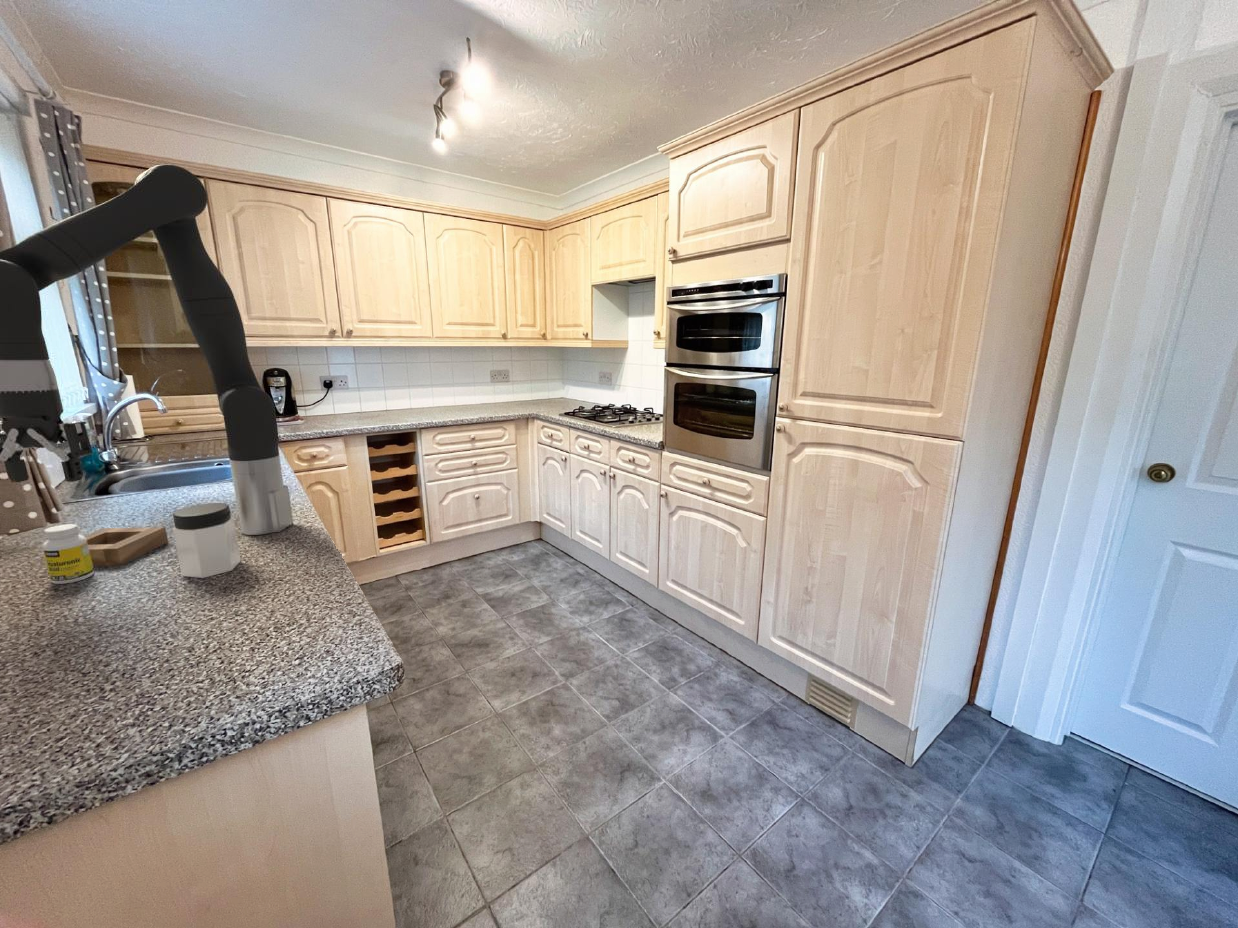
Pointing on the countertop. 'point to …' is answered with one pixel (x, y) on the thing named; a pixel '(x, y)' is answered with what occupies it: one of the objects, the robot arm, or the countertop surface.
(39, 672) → the countertop surface
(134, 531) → the socket block
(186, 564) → the jar
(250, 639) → the countertop surface
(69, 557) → the supplement bottle
